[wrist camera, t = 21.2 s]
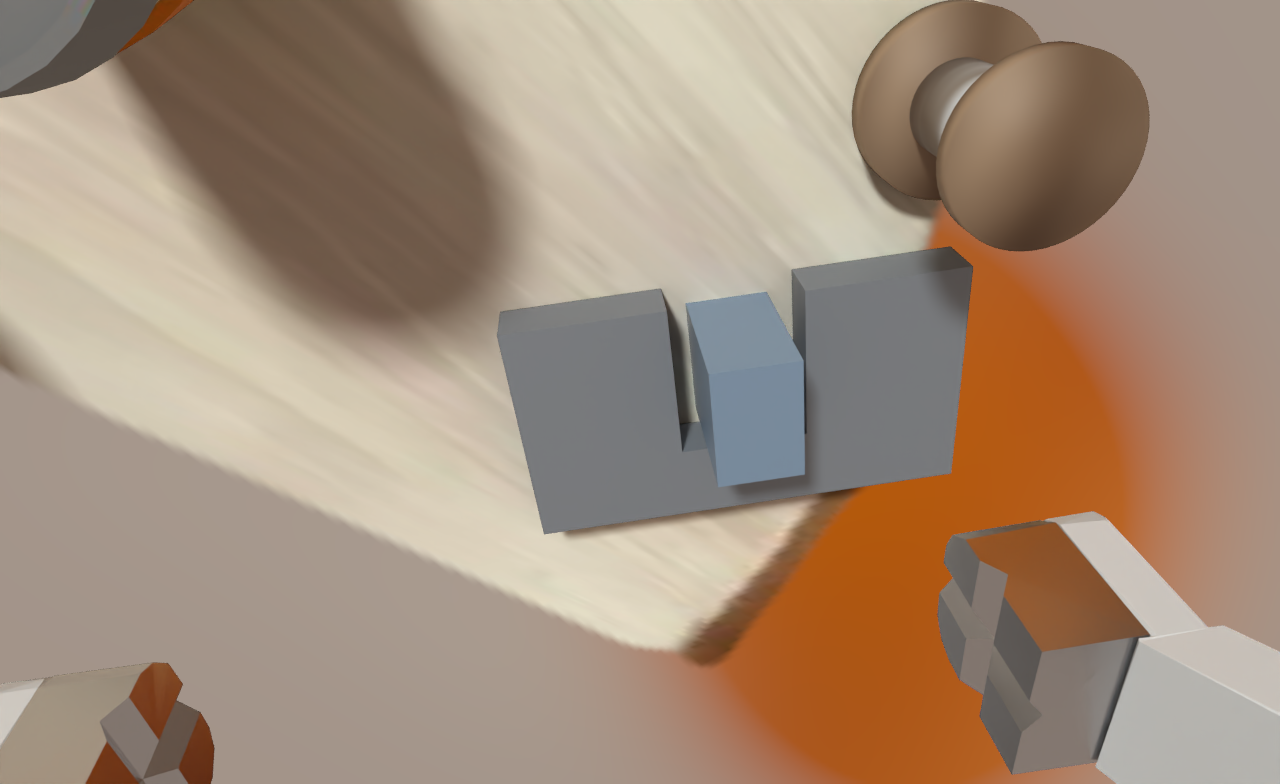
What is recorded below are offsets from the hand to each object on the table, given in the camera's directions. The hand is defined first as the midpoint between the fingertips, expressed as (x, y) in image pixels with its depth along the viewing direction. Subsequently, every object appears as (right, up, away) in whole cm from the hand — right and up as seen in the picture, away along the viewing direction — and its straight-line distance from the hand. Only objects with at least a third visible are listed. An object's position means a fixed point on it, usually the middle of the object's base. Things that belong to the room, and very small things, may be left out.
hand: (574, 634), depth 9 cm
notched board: (+6, +3, +34) cm, 34 cm away
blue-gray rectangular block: (+5, +5, +33) cm, 33 cm away
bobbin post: (+14, +15, +27) cm, 34 cm away
